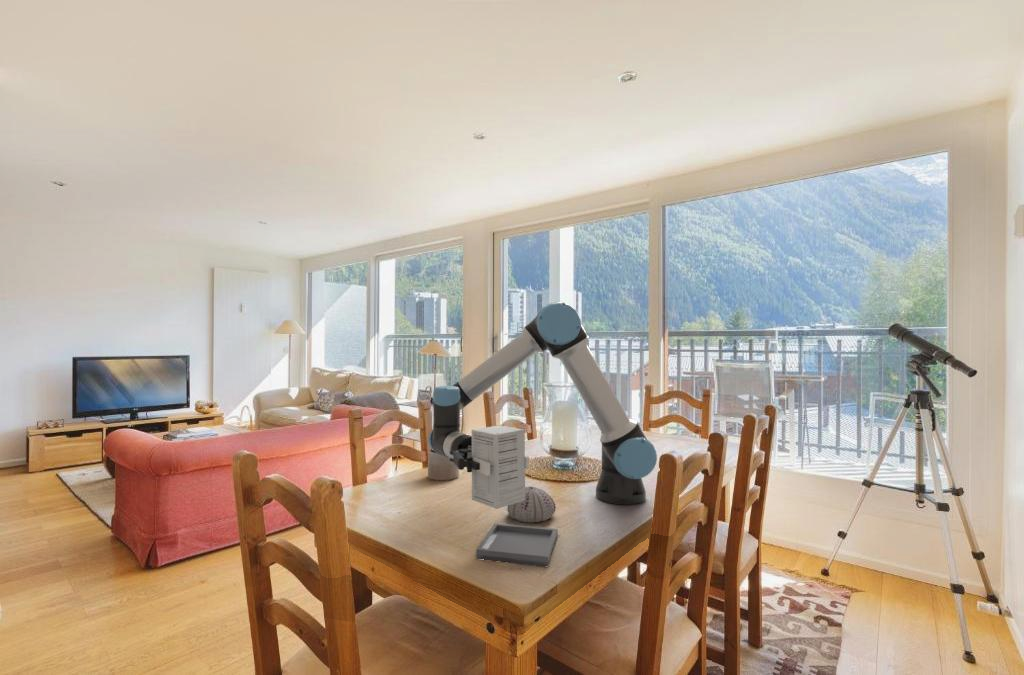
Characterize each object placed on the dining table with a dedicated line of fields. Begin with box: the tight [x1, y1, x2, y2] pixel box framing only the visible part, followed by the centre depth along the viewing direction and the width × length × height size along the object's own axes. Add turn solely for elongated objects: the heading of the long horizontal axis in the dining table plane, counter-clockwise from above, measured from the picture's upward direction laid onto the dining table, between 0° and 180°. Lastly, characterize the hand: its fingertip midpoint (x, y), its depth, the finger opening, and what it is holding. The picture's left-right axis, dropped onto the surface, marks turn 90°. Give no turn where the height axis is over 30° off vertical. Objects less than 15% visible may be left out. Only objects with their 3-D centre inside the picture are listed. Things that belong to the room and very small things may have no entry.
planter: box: [427, 448, 460, 482], centre depth 174 cm, size 11×11×10 cm
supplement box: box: [471, 425, 526, 510], centre depth 117 cm, size 10×9×17 cm
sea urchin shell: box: [506, 485, 557, 524], centre depth 136 cm, size 13×14×8 cm
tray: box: [475, 522, 559, 567], centre depth 115 cm, size 16×16×2 cm
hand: (508, 466), depth 113 cm, fingers closed on supplement box, 10 cm apart
